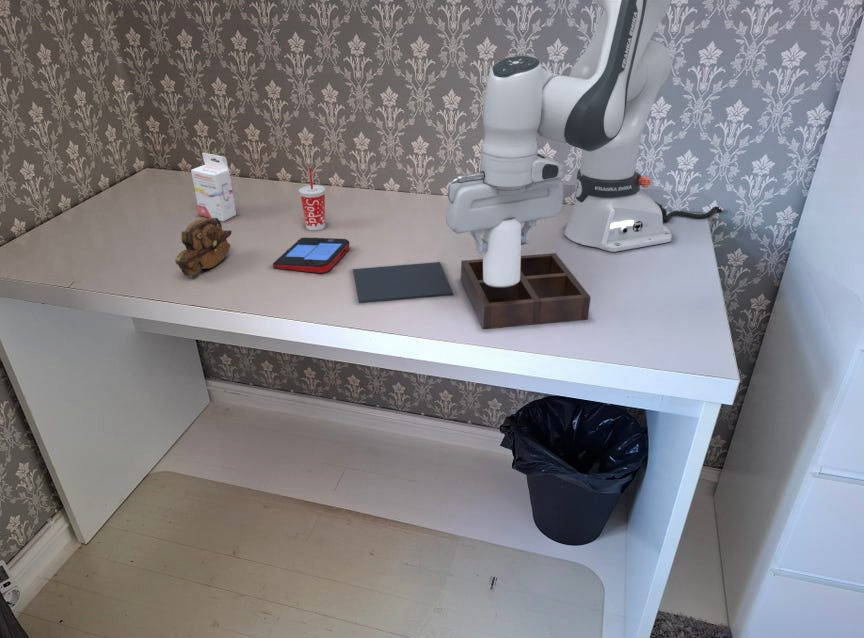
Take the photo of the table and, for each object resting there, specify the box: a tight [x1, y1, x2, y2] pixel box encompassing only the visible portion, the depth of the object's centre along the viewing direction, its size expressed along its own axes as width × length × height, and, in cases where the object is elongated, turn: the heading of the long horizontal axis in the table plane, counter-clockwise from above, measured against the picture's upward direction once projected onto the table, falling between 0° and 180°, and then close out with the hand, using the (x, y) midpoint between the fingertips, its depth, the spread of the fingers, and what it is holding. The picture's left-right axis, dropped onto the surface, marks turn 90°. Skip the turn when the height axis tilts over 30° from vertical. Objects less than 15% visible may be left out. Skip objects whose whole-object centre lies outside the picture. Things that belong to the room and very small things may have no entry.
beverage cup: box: [298, 167, 326, 231], centre depth 157 cm, size 6×6×14 cm
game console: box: [272, 237, 351, 274], centre depth 145 cm, size 14×13×2 cm
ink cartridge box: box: [190, 152, 237, 222], centre depth 165 cm, size 9×5×15 cm, turn 58°
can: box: [482, 217, 522, 288], centre depth 117 cm, size 6×6×12 cm
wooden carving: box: [175, 217, 232, 276], centre depth 141 cm, size 16×5×10 cm, turn 160°
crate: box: [460, 252, 592, 330], centre depth 125 cm, size 19×19×4 cm
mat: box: [352, 261, 454, 304], centre depth 134 cm, size 18×14×1 cm
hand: (501, 247), depth 117 cm, fingers closed on can, 6 cm apart
